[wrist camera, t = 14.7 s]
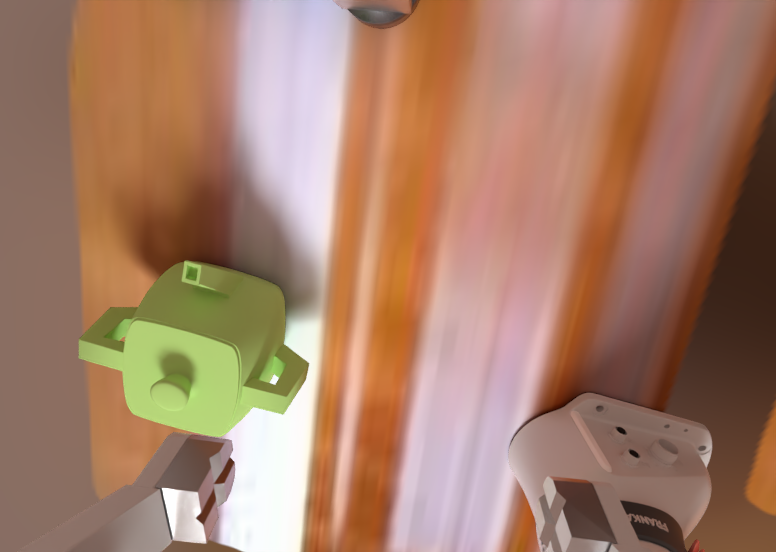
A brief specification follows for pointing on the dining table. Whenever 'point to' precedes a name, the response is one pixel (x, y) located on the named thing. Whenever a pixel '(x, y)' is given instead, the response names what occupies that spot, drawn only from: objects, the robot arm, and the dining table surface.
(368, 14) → the ratchet
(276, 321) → the teapot
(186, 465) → the robot arm
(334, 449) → the dining table surface
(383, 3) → the cube with grey knob
